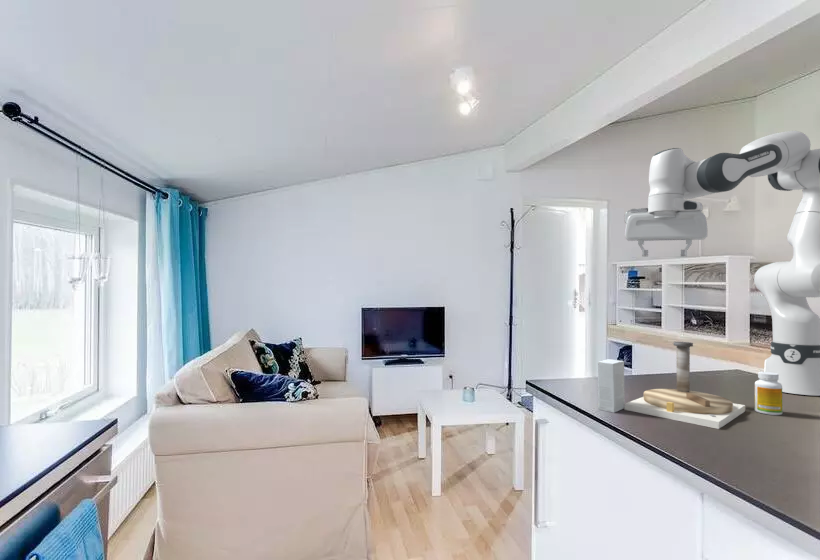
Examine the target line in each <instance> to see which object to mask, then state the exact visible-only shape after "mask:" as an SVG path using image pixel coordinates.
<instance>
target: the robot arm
mask: <svg viewBox="0 0 820 560" xmlns="http://www.w3.org/2000/svg"><path fill="white" fill-rule="evenodd" d="M811 146H812V145H811V140H810V138H809V136H808V135H806V133H804V132H801V131H798V130H788V131H781V132H776V133H771V134H768V135H765V136H762V137H759V138H756V139H754V140H752V141H751V142H749V143H747V144H746V145H744V146H742V147H741V149H740V151H739V152H738V153H732V152H730V153H729V152H719V153H717V154H714V155H712V156H710V157H708V158H705V159H702V160H698V161H694V159H690V158H689V157H688V156H687V155H686V154H685V153H684V150H683V149H682V148H679V147H673V148H667V149H664V150H661V151H658V152H657V153H655V154H653V156H652V157H651V158H650V159H651V160H650V164H649V170H648V186H649V192H648V195H647V196H648V197H647V207H642V208H630V210H628V211H626V212H625V214H624V223H625V230H624V238H625V240H627V241H628V242H637V245H638V247H640V249H641V257H642V258H643V257H644V258H645V257H649V249H645V248H644V246H643V245H645V242H647V241H649V242H652V241H655V242H656V241H685V244H686V246H685V248H684V249H680V257H687V256H688V251H689V249H690V248H691V246H692V244H693V241H701V240H702V241H704V240H706V238H708V223H707V217H706V215H705V213H704V212H703V207H704V206H703V203H702V202H700V201H696V200H695V201H694V200H691V199H696V198H700V197H705V196H709V195H713V194H717V193H719V194H720V193H723V192H728V191H732V190H734V189H735V188H737V186H739V185H740V184H741V182H743V181H744V180H745V179H746V178H747V177H751V178H758V177H764V176H767V180H768V183H769V184H770V186H771V187H772V188H773V189H775V190H778V191H781V192H782V191H784V192H789V191H790V192H791V191H793V190H794V191H795V190H798V191H799V190H802V198H801V200H800V202H799V204H798V206H797V208H796V210H795V213H794V215H793V219H792V221H791V224H790V226H789V230H788V232H787V236H786V241H787V243H788V244H789V246H791V247H792V257H791V259H790V260H786V261H773V262H772V263H768V264H765V265H762V266H761V267H760V268H758V269H757V270H756V272H755V273H754V277H753V283H754V286H755V287H756V288H757V290H758V291H759V292H760V293H761V294H762V295H763V296H764V298H765V300H766V302H767V304H768V307H769V311H770V314H771V319H772V321H771V325H772V327H771V328H772V341H771V342H770V346H769V347H770V353H771V355H770V356H769V357H767V358H766V359H764V367H763V372H772V373H777V374H779V380H777V381H778V382H779V383H780V384H781V385H782V393H788V394H795V395H802V396H804V395H805V396H820V317H819V315H818V313H815V312H814V311H813V310H812V308H811V307H810V305H809V302H808V301H807V298H814V299H815V298H820V148H816V149H811Z"/></svg>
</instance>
